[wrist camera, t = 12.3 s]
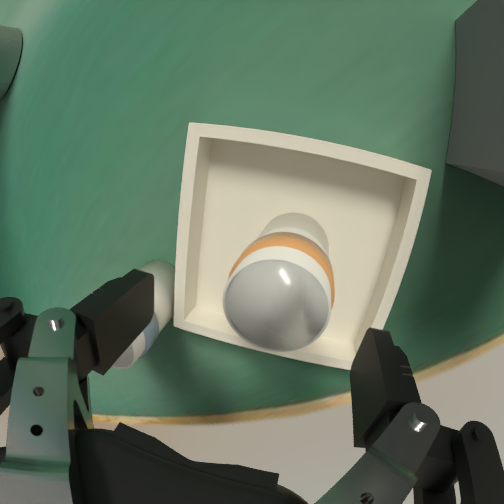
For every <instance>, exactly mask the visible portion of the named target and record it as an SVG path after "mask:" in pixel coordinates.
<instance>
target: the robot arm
mask: <svg viewBox="0 0 504 504" xmlns="http://www.w3.org/2000/svg"><path fill="white" fill-rule="evenodd" d="M21 48H22V35H21V31H20V30H19V29H17V28H12V27H6V26H0V99H1V98H2V97H3V96H4V94H5V93H6V91H7V89H8V87H9V85H10V83H11V81H12V79H13V76H14V74H15V71H16V68H17V65H18V62H19V58H20V53H21ZM153 314H154V276H153V274H151V273H148V272H144V271H141V270H137V269H133V270H131V271H130V272H129V273H127V274H126V275H125V276H123V277H122V278H121V277H119V278H116V279H113V280H111V281H108V282H107V283H105V284H104V285H102V286H101V287H100V289H97V290H95V291H94V292H93V294H90V295H89V296H87V297H86V298H84V299H83V300H82V301H80V302H79V303H78V304H76V305H75V306H74V307H72V308H71V309H70V310H69V309H66V308H59V307H57V308H50V309H47V310H45V311H43V312H42V313H41V314H40V315H39V316H35V315H31V314H26V313H24V309H23V305H22V302H21V301H20V300H19V299H17V298H14V297H5V298H2V299H0V345H1V348H2V350H3V353H4V355H5V357H4V358H3V359H2V360H0V415H1V414H2V413H3V411H4V410H5V409H6V408H7V407H8V406H9V405H10V410H9V417H8V429H7V443H6V447H0V504H308V503H307V502H306V501H305V500H304V499H302V498H301V497H300V496H299V495H297V494H295V493H294V492H292V491H291V490H289V489H287V488H285V487H283V486H281V485H278V484H277V483H278V477H279V474H278V473H272V472H267V471H262V470H258V469H253V468H249V467H245V466H240V465H230V464H216V463H204V462H196V461H192V460H189V459H187V458H185V457H184V456H182V455H181V454H179V453H177V452H176V451H174V450H173V449H171V448H170V447H168V446H167V445H165V444H164V443H162V442H161V441H159V440H158V439H156V438H155V437H152V436H150V435H147V434H145V433H143V432H140V431H138V430H136V429H134V428H131V427H129V426H127V425H125V424H123V423H121V422H120V423H119V424H118V426H117V427H116V429H115V430H114V431H112V430H106V429H94V425H93V420H92V411H91V399H90V385H89V376H88V374H89V373H90V372H91V370H93V371H95V372H97V373H99V374H101V375H104V374H105V373H106V372H107V371H108V370H109V369H110V367H111V366H112V365H113V364H114V363H115V362H116V361H117V359H118V358H119V357H120V356H121V355H122V354H123V353H124V352H125V350H126V349H127V348H128V347H129V346H130V345H131V344H132V343H133V341H134V340H135V339H136V338H137V337H138V336H139V335H140V334H141V333H142V331H143V330H144V329H145V328H146V327H147V326H148V325H149V324H150V322H151V320H152V317H153ZM412 375H413V374H412V371H411V368H410V365H409V362H408V359H407V356H406V355H405V354H404V352H403V351H402V350H401V349H400V347H399V346H394V344H393V341H392V338H391V335H390V332H389V331H386V330H381V329H376V328H371V327H370V328H368V329H367V331H366V333H365V335H364V338H363V340H362V342H361V344H360V347H359V349H358V351H357V353H356V355H355V358H354V360H353V362H352V366H351V370H350V383H351V397H352V413H353V434H354V447H361V448H366V453H365V454H364V455H363V456H362V458H360V459H359V461H358V462H357V463H356V464H355V465H354V466H353V467H352V468H351V469H350V470H349V471H348V472H347V473H346V474H345V475H344V476H343V477H342V478H341V479H340V480H339V481H338V482H337V483H336V484H335V485H334V486H333V487H332V488H331V489H330V490H329V491H328V492H327V493H326V494H325V495H323V496H322V497H321V498H320V499H319V500H318V501H317V502H316V503H314V504H402V503H403V501H404V500H405V498H406V497H407V495H408V494H409V492H410V491H411V489H412V488H413V490H414V504H456V496H455V489H454V484H455V483H456V482H458V481H459V488H460V495H461V504H504V470H503V467H502V463H501V459H500V455H499V452H498V449H497V445H496V442H495V439H494V436H493V434H492V432H491V431H490V429H489V428H488V427H487V426H485V425H484V424H483V423H481V422H478V421H470V422H467V423H466V424H465V425H464V426H463V427H462V428H461V430H460V431H458V430H454V429H451V428H448V427H445V426H442V425H440V420H439V417H438V415H437V414H436V413H435V411H434V410H433V409H431V408H430V407H429V406H427V405H425V404H422V403H421V400H420V396H419V393H418V390H417V386H416V383H415V380H414V377H413V376H412Z"/></svg>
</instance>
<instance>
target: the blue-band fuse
mask: <svg viewBox="0 0 504 504" xmlns="http://www.w3.org/2000/svg"><path fill="white" fill-rule="evenodd" d="M138 270H141V271H144V272H148V273H151V274H153V276H154V314H153V317H152V320H151V322H150V324H149V325H148V326H147V327H146V328H145V329H144V330H143V331H142V333H141V334H140V335H139V336H138V337H137V338H136V339H135V340H134V341H133V343H132V344H131V345H130V346H129V347H128V348H127V349H126V350H125V352H124V353H123V354H122V355H121V356H120V357H119V358H118V359H117V361H116V362H115V363H114V364H113V365H112V367H115V368H119V369H126V368H129V367H131V366H132V365H133V364H134V363H135V361H136V360H137V359H139V358H141V357H143V356H144V355H145V354H146V352H147V351H148V350H149V349H150V347H151V346H152V345H153V344H154V343H155V341H156V340H157V338H158V335H159V333H160V331H161V330H162V329H163V328H164V327H165V325H166V324H167V323H168V322H169V321H170V319H171V318H172V317H173V316H174V290H175V267H174V266H173V265H171V264H170V263H168V262H166V261H162V260H152V261H149V262H147V263H146V264H144V265H143V266H142V267H140V268H139V269H138Z"/></svg>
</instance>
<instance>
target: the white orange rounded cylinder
mask: <svg viewBox="0 0 504 504" xmlns="http://www.w3.org/2000/svg"><path fill="white" fill-rule="evenodd" d="M334 298H335V287H334V273H333V268H332V265H331V262H330V260H329V244H328V238H327V235H326V233H325V231H324V229H323V228H322V226H321V225H320V224H319V223H318V222H317V221H316V220H315V219H313V218H311V217H310V216H307V215H305V214H302V213H285V214H282V215H279V216H277V217H275V218H274V219H272V220H271V221H270V222H269V223H268V224H267V225H266V226H265V228H264V229H263V231H262V232H261V233H260V235H259V236H258V238H257V239H256V240H255V241H253V242H252V243H251V244H250V245H249V246H248V247H247V248H246V249H245V250H244V251H243V253H242V254H241V256H240V257H239V258H238V260H237V261H236V262H235V264H234V265H233V267H232V269H231V271H230V274H229V277H228V281H227V283H226V285H225V288H224V292H223V299H222V302H223V310H224V314H225V316H226V319H227V321H228V323H229V324H230V326H231V327H232V329H233V330H234V331H235V332H236V333H237V334H238V335H239V336H240V337H241V338H242V339H244V340H245V341H246V342H248V343H250V344H251V345H253V346H255V347H258V348H261V349H264V350H268V351H274V352H288V351H294V350H298V349H301V348H304V347H306V346H308V345H310V344H311V343H313V342H314V341H315V340H316V339H318V338H319V337H320V336H321V334H322V333H323V332H324V330H325V329H326V327H327V325H328V323H329V320H330V316H331V310H332V308H333V304H334Z"/></svg>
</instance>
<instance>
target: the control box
mask: <svg viewBox="0 0 504 504" xmlns="http://www.w3.org/2000/svg"><path fill="white" fill-rule="evenodd" d="M455 28H456V73H455V91H454V103H453V113H452V122H451V130H450V137H449V144H448V150H447V156H446V162H445V163H447V164H449V165H452V166H455V167H457V168H460V169H463V170H465V171H468V172H470V173H473V174H475V175H477V176H480V177H482V178H484V179H487V180H489V181H491V182H494V183H496V184H498V185H500V186H502V187H504V0H477V1H476V2H475V3H474V4H473V5H472V6H471V7H470V8H469V9H467V10H466V11H465V12H464V13H463V14H462V15H461V16H460V17H459V18H458V19H457V20H456V21H455Z"/></svg>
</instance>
